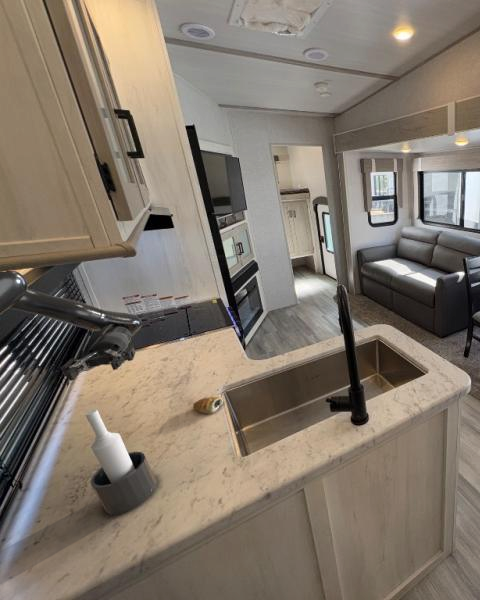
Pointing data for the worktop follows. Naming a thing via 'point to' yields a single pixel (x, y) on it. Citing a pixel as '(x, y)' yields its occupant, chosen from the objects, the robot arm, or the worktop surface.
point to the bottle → (109, 449)
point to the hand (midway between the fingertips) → (92, 371)
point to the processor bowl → (125, 486)
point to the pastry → (208, 404)
